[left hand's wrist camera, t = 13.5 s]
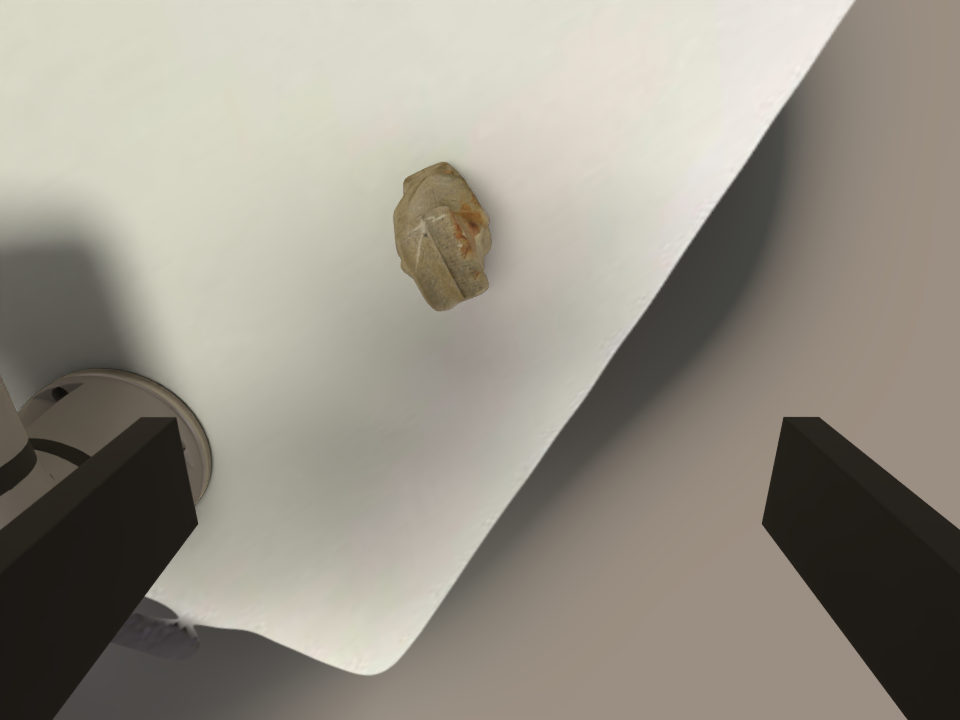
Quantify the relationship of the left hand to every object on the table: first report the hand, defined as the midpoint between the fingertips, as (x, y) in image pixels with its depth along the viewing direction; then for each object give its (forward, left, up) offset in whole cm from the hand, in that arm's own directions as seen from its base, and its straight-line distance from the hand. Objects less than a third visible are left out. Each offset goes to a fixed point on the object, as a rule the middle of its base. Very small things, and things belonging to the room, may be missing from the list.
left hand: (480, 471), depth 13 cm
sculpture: (+1, +3, -33) cm, 33 cm away
